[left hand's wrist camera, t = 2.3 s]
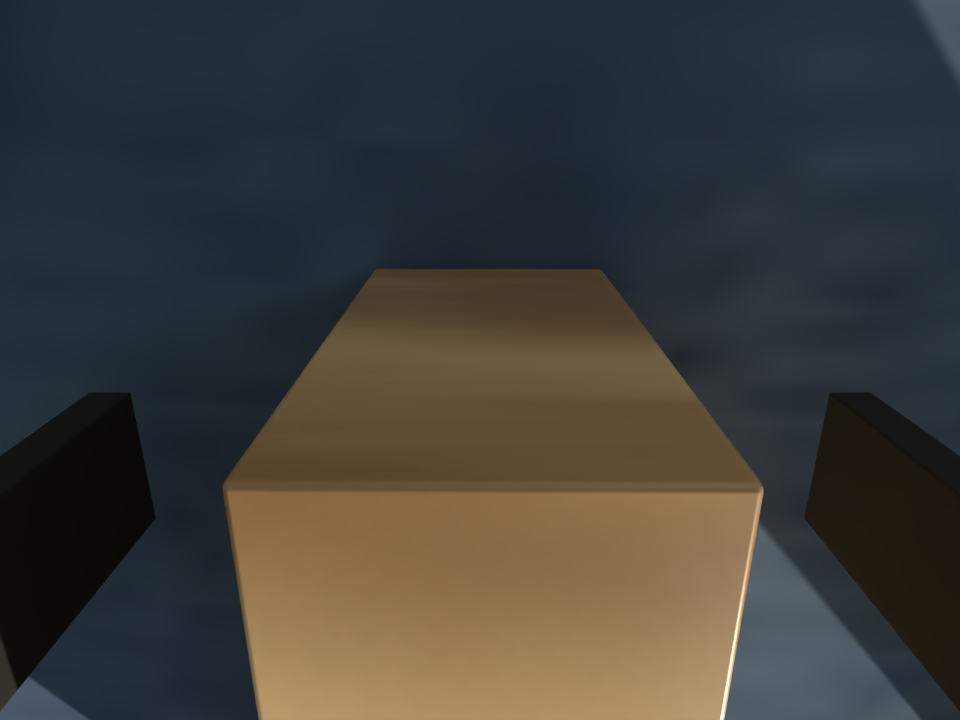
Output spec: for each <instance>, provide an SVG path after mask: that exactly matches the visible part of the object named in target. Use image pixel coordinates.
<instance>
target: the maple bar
mask: <svg viewBox="0 0 960 720" xmlns="http://www.w3.org/2000/svg"><path fill="white" fill-rule="evenodd" d="M222 489H223V496H224V503H225V509H226V515H227V522H228V528H229V534H230V541H231V547H232V553H233V560H234V566H235V573H236V579H237V585H238V592H239V598H240V604H241V611H242V617H243V623H244V630H245V636H246V642H247V649H248V655H249V662H250V668H251V674H252V681H253V687H254V693H255V700H256V706H257V712H258V719H259V720H724V717H725V712H726V706H727V700H728V694H729V688H730V683H731V677H732V671H733V665H734V660H735V654H736V648H737V642H738V637H739V631H740V625H741V619H742V613H743V608H744V602H745V596H746V590H747V585H748V579H749V573H750V567H751V562H752V556H753V550H754V544H755V538H756V533H757V527H758V521H759V515H760V510H761V504H762V498H763V486H762V483H761V482H760V480H759V479H758V478H757V476H756V475H755V474H754V472H753V471H752V470H751V468H750V467H749V466H748V464H747V463H746V462H745V460H744V459H743V458H742V456H741V455H740V454H739V452H738V451H737V450H736V448H735V447H734V446H733V444H732V443H731V442H730V440H729V439H728V438H727V436H726V435H725V434H724V432H723V431H722V430H721V428H720V427H719V426H718V424H717V423H716V422H715V420H714V419H713V418H712V416H711V415H710V414H709V412H708V411H707V410H706V408H705V407H704V406H703V404H702V403H701V402H700V400H699V399H698V398H697V396H696V395H695V394H694V392H693V391H692V390H691V388H690V387H689V386H688V384H687V383H686V382H685V380H684V379H683V378H682V376H681V375H680V374H679V372H678V371H677V370H676V368H675V367H674V366H673V364H672V363H671V362H670V360H669V359H668V358H667V356H666V355H665V354H664V352H663V351H662V350H661V348H660V347H659V346H658V345H657V343H656V342H655V341H654V339H653V338H652V337H651V335H650V334H649V333H648V331H647V330H646V329H645V327H644V326H643V325H642V323H641V322H640V321H639V319H638V318H637V317H636V315H635V314H634V313H633V311H632V310H631V309H630V307H629V306H628V305H627V303H626V302H625V301H624V299H623V298H622V297H621V295H620V294H619V293H618V291H617V290H616V289H615V287H614V286H613V285H612V283H611V282H610V281H609V279H608V278H607V277H606V275H605V274H604V273H603V271H602V270H600V269H376V270H374V271H373V273H372V274H371V276H370V277H369V278H368V280H367V281H366V283H365V284H364V286H363V287H362V288H361V290H360V291H359V293H358V294H357V295H356V297H355V298H354V300H353V301H352V302H351V304H350V305H349V307H348V308H347V309H346V311H345V312H344V314H343V315H342V316H341V318H340V319H339V321H338V322H337V323H336V325H335V326H334V328H333V329H332V331H331V332H330V333H329V335H328V336H327V338H326V339H325V340H324V342H323V343H322V345H321V346H320V347H319V349H318V350H317V352H316V353H315V354H314V356H313V357H312V359H311V360H310V361H309V363H308V364H307V366H306V367H305V368H304V370H303V371H302V373H301V374H300V376H299V377H298V378H297V380H296V381H295V383H294V384H293V385H292V387H291V388H290V390H289V391H288V392H287V394H286V395H285V397H284V398H283V399H282V401H281V402H280V404H279V405H278V406H277V408H276V409H275V411H274V412H273V413H272V415H271V416H270V418H269V419H268V421H267V422H266V423H265V425H264V426H263V428H262V429H261V430H260V432H259V433H258V435H257V436H256V437H255V439H254V440H253V442H252V443H251V444H250V446H249V447H248V449H247V450H246V451H245V453H244V454H243V456H242V457H241V458H240V460H239V461H238V463H237V464H236V466H235V467H234V468H233V470H232V471H231V473H230V474H229V475H228V477H227V478H226V480H225V481H224V484H223V487H222Z"/></svg>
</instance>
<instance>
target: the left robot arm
mask: <svg viewBox="0 0 960 720" xmlns="http://www.w3.org/2000/svg"><path fill="white" fill-rule="evenodd" d="M154 519H155V513H154V508H153V503H152V498H151V493H150V488H149V483H148V478H147V473H146V468H145V463H144V458H143V454H142V449H141V444H140V439H139V434H138V429H137V424H136V419H135V414H134V409H133V404H132V399H131V394H130V393H88V394H87V395H86V396H84V397H83V398H81V399H80V400H79V401H77V402H76V403H74V404H73V405H72V406H70V407H69V408H67V409H66V410H64V411H63V412H62V413H60V414H59V415H57V416H56V417H55V418H53V419H52V420H50V421H49V422H48V423H46V424H45V425H43V426H42V427H41V428H39V429H38V430H36V431H35V432H34V433H32V434H31V435H29V436H28V437H27V438H25V439H24V440H22V441H21V442H20V443H18V444H17V445H15V446H14V447H13V448H11V449H10V450H8V451H7V452H6V453H4V454H3V455H1V456H0V711H1V710H2V708H3V707H4V706H5V705H6V703H7V702H8V701H9V700H10V699H11V697H12V696H13V695H14V694H15V692H16V691H17V690H18V689H19V687H20V686H21V685H22V684H23V682H24V681H25V680H26V679H27V677H28V676H29V675H30V674H31V672H32V671H33V670H34V669H35V667H36V666H37V665H38V664H39V662H40V661H41V660H42V659H43V657H44V656H45V655H46V654H47V652H48V651H49V650H50V649H51V648H52V646H53V645H54V644H55V643H56V641H57V640H58V639H59V638H60V636H61V635H62V634H63V633H64V631H65V630H66V629H67V628H68V626H69V625H70V624H71V623H72V621H73V620H74V619H75V618H76V616H77V615H78V614H79V613H80V611H81V610H82V609H83V608H84V606H85V605H86V604H87V603H88V601H89V600H90V599H91V598H92V597H93V595H94V594H95V593H96V592H97V590H98V589H99V588H100V587H101V585H102V584H103V583H104V582H105V580H106V579H107V578H108V577H109V575H110V574H111V573H112V572H113V570H114V569H115V568H116V567H117V565H118V564H119V563H120V562H121V560H122V559H123V558H124V557H125V555H126V554H127V553H128V552H129V550H130V549H131V548H132V547H133V546H134V544H135V543H136V542H137V541H138V539H139V538H140V537H141V536H142V534H143V533H144V532H145V531H146V529H147V528H148V527H149V526H150V524H151V523H152V522H153V521H154ZM805 519H806V521H807V522H808V523H809V524H810V526H811V527H812V528H813V529H814V531H815V532H816V533H817V534H818V536H819V537H820V538H821V539H822V541H823V542H824V543H825V544H826V546H827V547H828V548H829V549H830V550H831V552H832V553H833V554H834V555H835V557H836V558H837V559H838V560H839V562H840V563H841V564H842V565H843V567H844V568H845V569H846V570H847V572H848V573H849V574H850V575H851V577H852V578H853V579H854V580H855V582H856V583H857V584H858V585H859V587H860V588H861V589H862V590H863V592H864V593H865V594H866V595H867V597H868V598H869V599H870V600H871V601H872V603H873V604H874V605H875V606H876V608H877V609H878V610H879V611H880V613H881V614H882V615H883V616H884V618H885V619H886V620H887V621H888V623H889V624H890V625H891V626H892V628H893V629H894V630H895V631H896V633H897V634H898V635H899V636H900V638H901V639H902V640H903V641H904V643H905V644H906V645H907V646H908V648H909V649H910V650H911V651H912V652H913V654H914V655H915V656H916V657H917V659H918V660H919V661H920V662H921V664H922V665H923V666H924V667H925V669H926V670H927V671H928V672H929V674H930V675H931V676H932V677H933V679H934V680H935V681H936V682H937V684H938V685H939V686H940V687H941V689H942V690H943V691H944V692H945V694H946V695H947V696H948V697H949V699H950V700H951V701H952V702H953V703H954V705H955V706H956V707H957V708H958V710H959V711H960V456H959V455H957V454H956V453H954V452H953V451H952V450H950V449H949V448H947V447H946V446H945V445H943V444H942V443H940V442H939V441H938V440H936V439H935V438H933V437H932V436H931V435H929V434H928V433H926V432H925V431H924V430H922V429H921V428H919V427H918V426H917V425H915V424H914V423H912V422H911V421H910V420H908V419H907V418H905V417H904V416H903V415H901V414H900V413H898V412H897V411H896V410H894V409H893V408H891V407H890V406H888V405H887V404H886V403H884V402H883V401H881V400H880V399H879V398H877V397H876V396H874V395H873V394H872V393H830V394H829V399H828V404H827V409H826V414H825V419H824V424H823V429H822V434H821V439H820V444H819V449H818V454H817V458H816V463H815V468H814V473H813V478H812V483H811V488H810V493H809V498H808V503H807V508H806V513H805Z"/></svg>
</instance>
